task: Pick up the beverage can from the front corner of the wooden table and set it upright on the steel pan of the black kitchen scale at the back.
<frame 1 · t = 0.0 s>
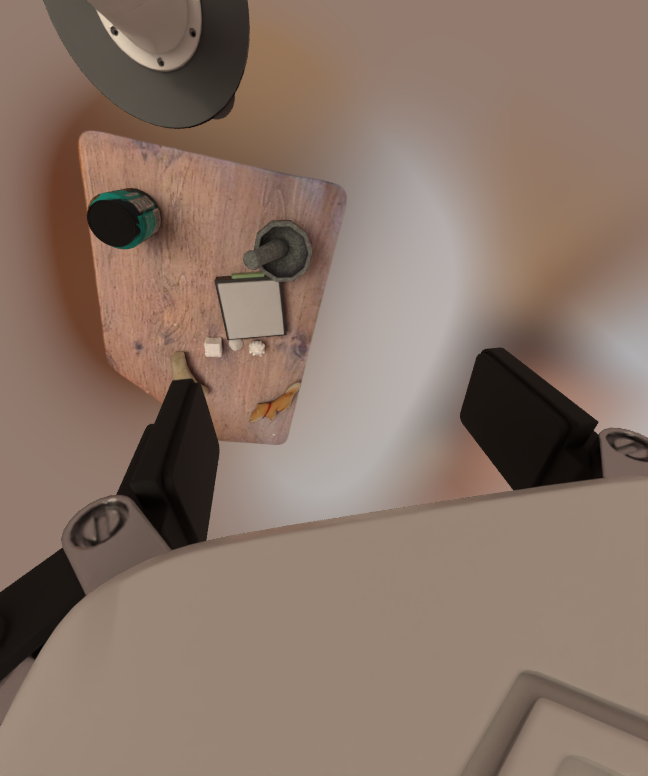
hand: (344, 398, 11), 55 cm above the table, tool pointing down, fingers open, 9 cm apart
toy: (283, 408, 79), point 1 cm above the table
game pieces: (236, 343, 69), on the table
scale: (253, 305, 65), on the table
beverage can: (139, 212, 53), on the table
mortar and pestle: (277, 244, 59), on the table
stone: (189, 371, 71), on the table
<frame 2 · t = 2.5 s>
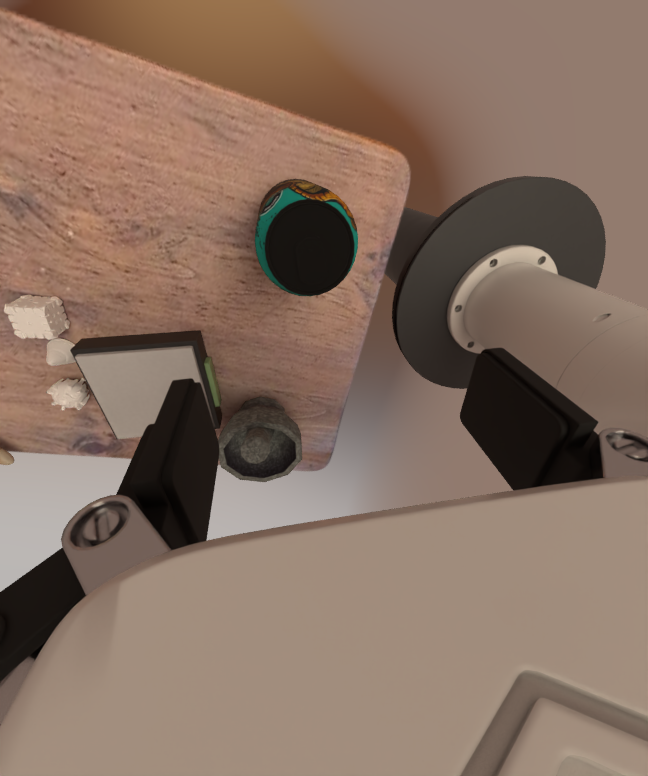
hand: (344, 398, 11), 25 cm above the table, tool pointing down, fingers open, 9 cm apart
game pieces: (65, 350, 34), on the table
scale: (159, 381, 37), on the table
beverage can: (296, 222, 30), on the table
mortar and pestle: (261, 410, 42), on the table
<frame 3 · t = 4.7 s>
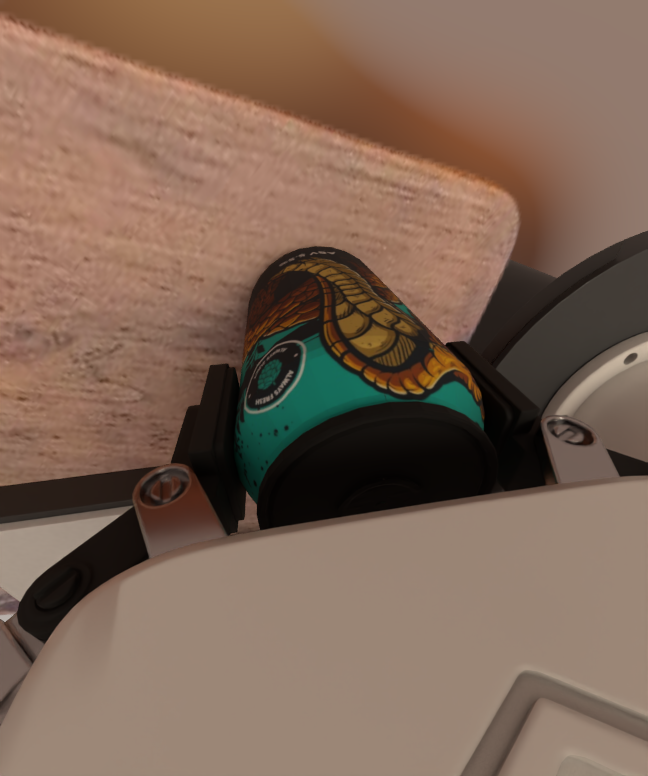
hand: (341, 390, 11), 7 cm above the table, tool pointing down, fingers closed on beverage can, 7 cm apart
scale: (103, 529, 25), on the table
beverage can: (315, 311, 17), on the table, touching gripper
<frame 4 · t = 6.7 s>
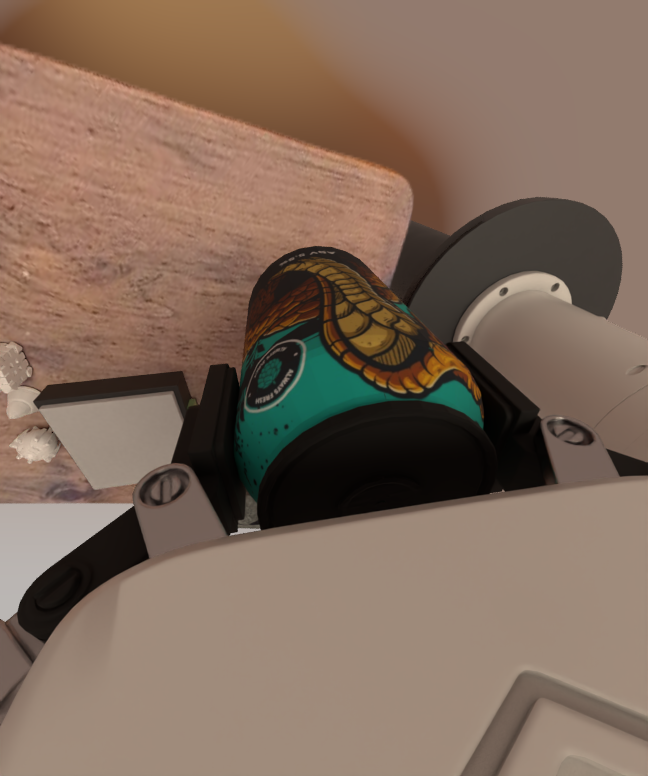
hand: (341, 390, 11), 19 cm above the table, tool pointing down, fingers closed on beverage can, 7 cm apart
game pieces: (30, 397, 30), on the table
scale: (139, 424, 34), on the table
beverage can: (315, 311, 17), point 12 cm above the table, touching gripper
mortar and pestle: (253, 448, 39), on the table
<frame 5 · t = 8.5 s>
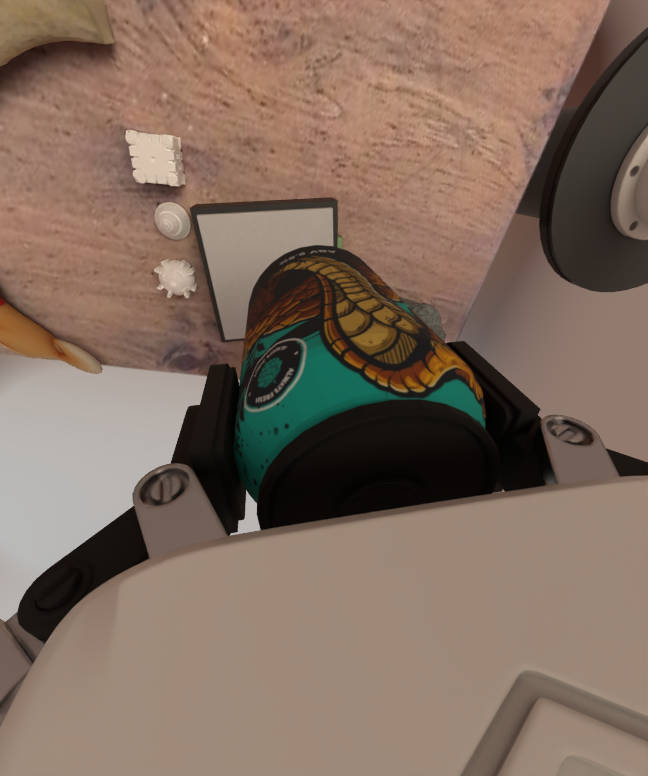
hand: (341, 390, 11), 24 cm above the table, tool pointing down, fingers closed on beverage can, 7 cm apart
game pieces: (174, 221, 28), on the table
scale: (273, 270, 32), on the table
beverage can: (315, 310, 17), point 17 cm above the table, touching gripper
mortar and pestle: (377, 317, 37), on the table
stone: (31, 36, 21), on the table
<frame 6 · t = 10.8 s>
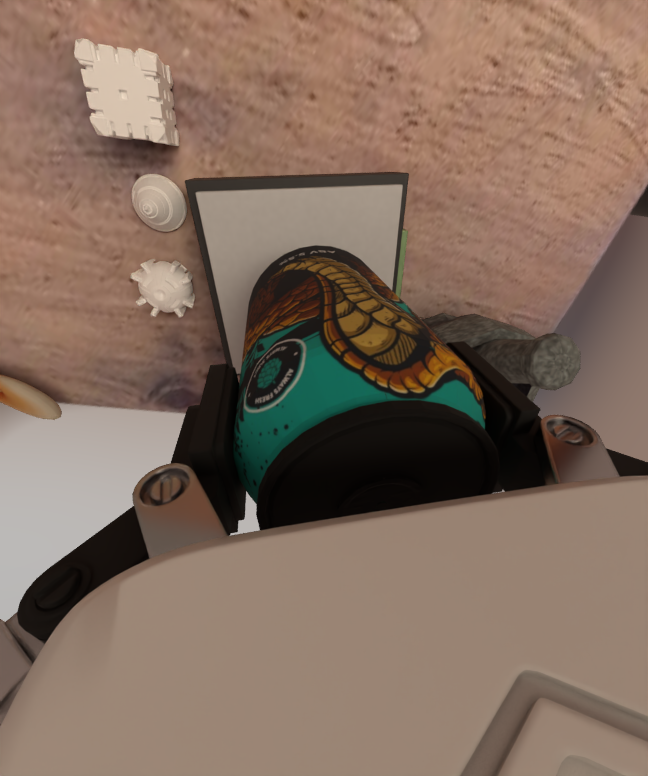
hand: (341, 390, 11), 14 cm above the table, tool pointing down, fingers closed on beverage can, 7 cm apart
game pieces: (161, 204, 19), on the table
scale: (303, 277, 23), on the table
beverage can: (315, 311, 17), point 6 cm above the table, touching gripper
mortar and pestle: (435, 339, 27), on the table
when the fingers open (10 cm above the table, at t = 12.3 s): beverage can stays where it is, resting on scale.
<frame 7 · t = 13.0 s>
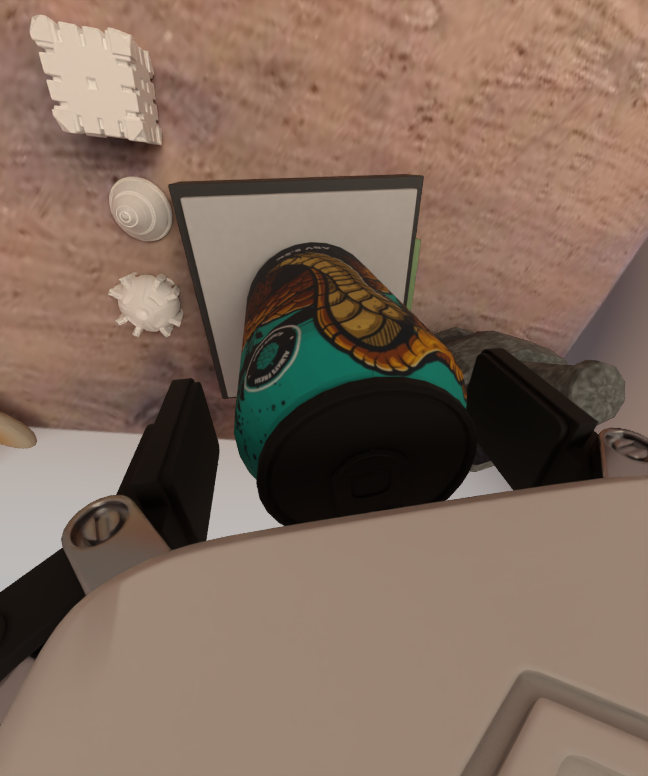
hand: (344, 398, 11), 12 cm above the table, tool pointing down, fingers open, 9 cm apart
game pieces: (144, 211, 17), on the table
scale: (303, 290, 20), on the table
beverage can: (311, 305, 18), point 3 cm above the table, touching scale
mortar and pestle: (446, 354, 25), on the table
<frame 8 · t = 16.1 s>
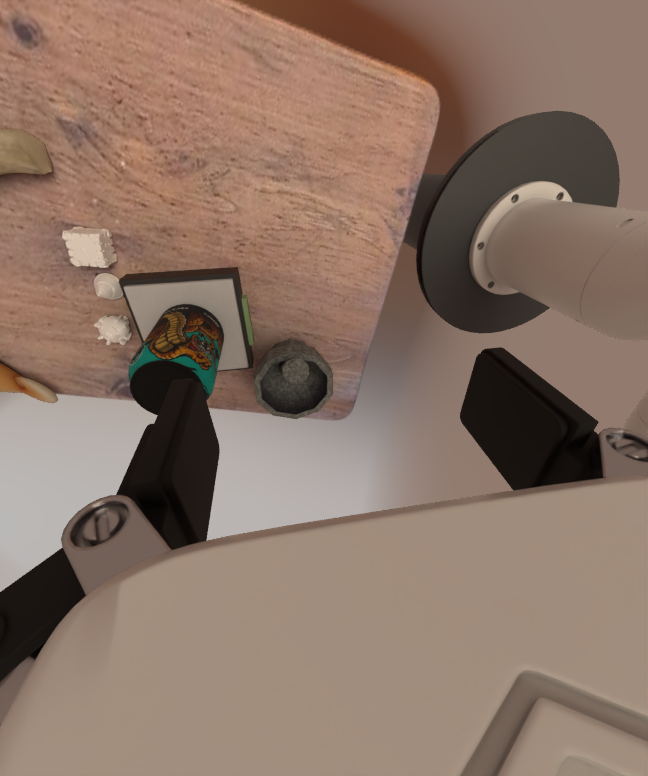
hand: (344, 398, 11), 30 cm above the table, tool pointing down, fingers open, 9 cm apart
game pieces: (110, 286, 36), on the table
scale: (196, 320, 39), on the table
beverage can: (193, 330, 37), point 3 cm above the table, touching scale
mortar and pestle: (290, 354, 44), on the table
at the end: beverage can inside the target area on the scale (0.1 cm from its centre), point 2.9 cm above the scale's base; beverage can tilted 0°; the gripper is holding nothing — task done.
